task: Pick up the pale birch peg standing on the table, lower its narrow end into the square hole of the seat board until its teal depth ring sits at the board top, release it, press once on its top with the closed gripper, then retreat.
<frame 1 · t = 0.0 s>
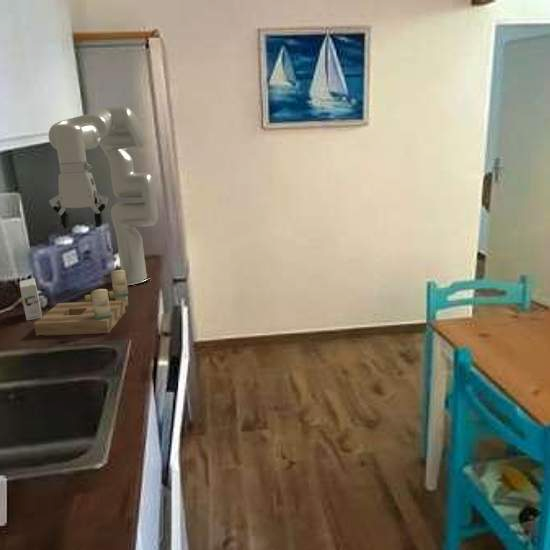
hand: (82, 226, 154), 31 cm above the worktop, tool pointing down, fingers open, 9 cm apart
ink box: (33, 316, 173), on the worktop
gavel: (99, 299, 189), on the worktop
board: (83, 323, 164), on the worktop
peg: (122, 305, 180), on the worktop
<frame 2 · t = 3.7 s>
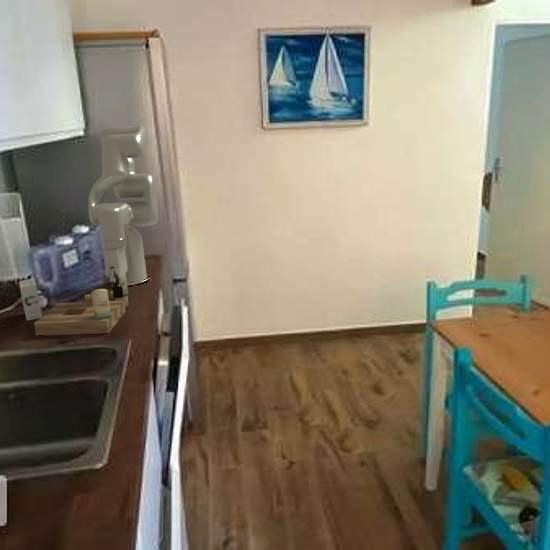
hand: (121, 294, 178), 4 cm above the worktop, tool pointing down, fingers closed on peg, 4 cm apart
peg: (122, 305, 180), on the worktop, touching gripper
everything else where it was.
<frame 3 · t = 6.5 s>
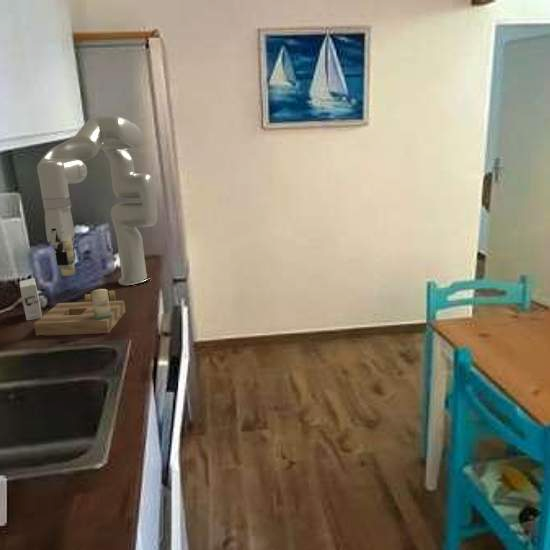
hand: (66, 261, 158), 20 cm above the worktop, tool pointing down, fingers closed on peg, 4 cm apart
peg: (68, 274, 159), point 17 cm above the worktop, touching gripper
everything else where it was.
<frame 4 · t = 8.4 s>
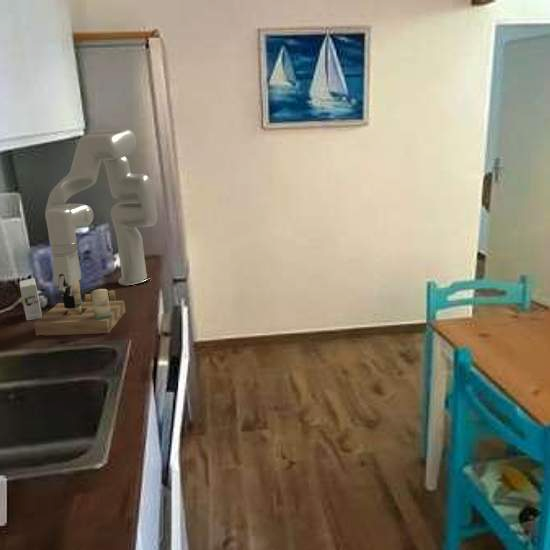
hand: (73, 304, 162), 7 cm above the worktop, tool pointing down, fingers closed on peg, 4 cm apart
peg: (75, 315, 163), point 3 cm above the worktop, touching gripper
when the fingers open (6 cm above the worktop, at t = 9.3 s): peg drops 2 cm, resting in board.
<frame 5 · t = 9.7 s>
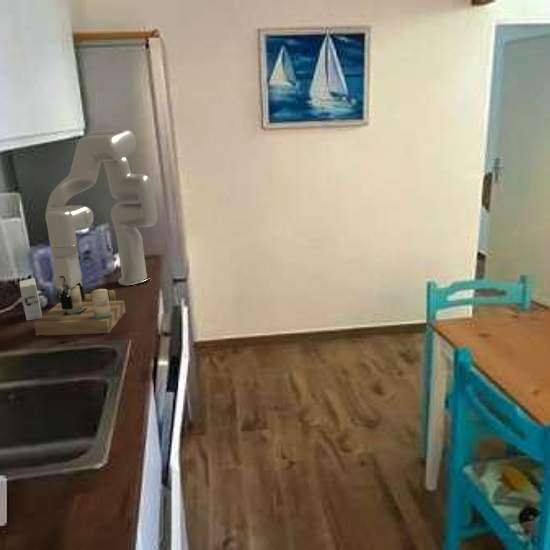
hand: (73, 303, 162), 7 cm above the worktop, tool pointing down, fingers open, 9 cm apart
peg: (77, 323, 164), resting in board
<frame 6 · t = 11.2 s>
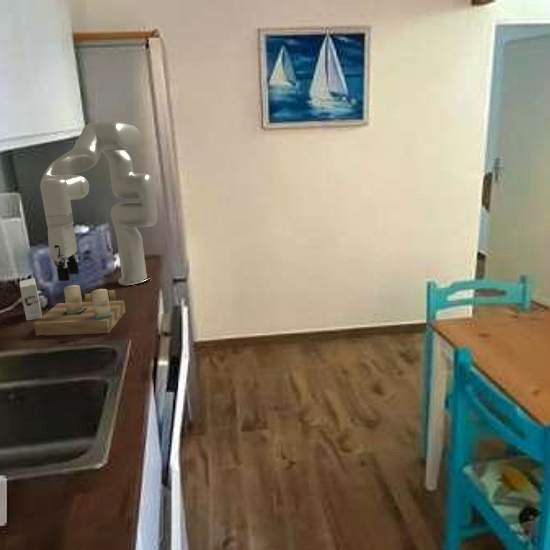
hand: (69, 276, 160), 16 cm above the worktop, tool pointing down, fingers open, 6 cm apart
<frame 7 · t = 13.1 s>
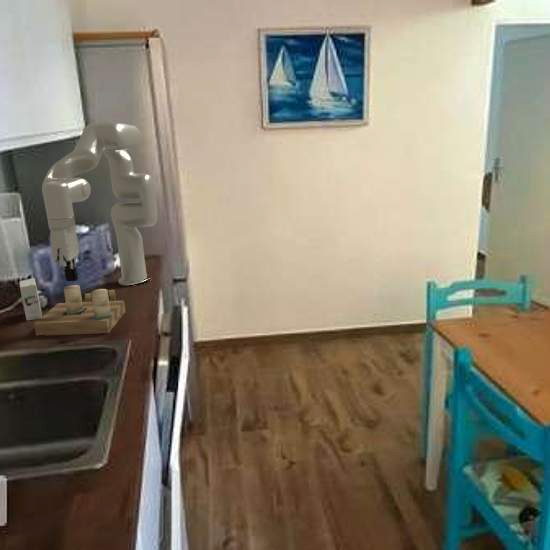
hand: (72, 280, 162), 14 cm above the worktop, tool pointing down, fingers closed
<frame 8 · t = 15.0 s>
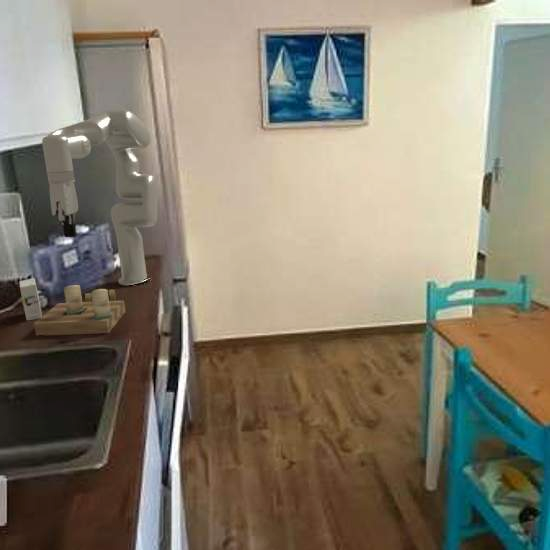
hand: (70, 236, 162), 27 cm above the worktop, tool pointing down, fingers closed
at the end: peg 0.1 cm from the target spot on the board, point 0.0 cm above the board's base; peg tilted 1°; the gripper is holding nothing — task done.
